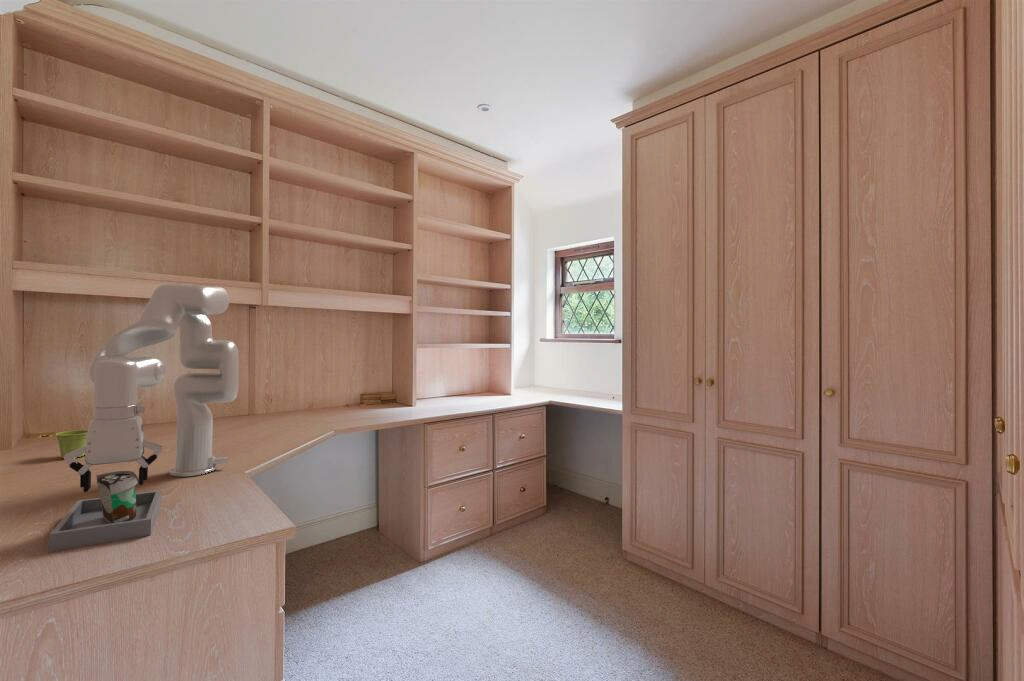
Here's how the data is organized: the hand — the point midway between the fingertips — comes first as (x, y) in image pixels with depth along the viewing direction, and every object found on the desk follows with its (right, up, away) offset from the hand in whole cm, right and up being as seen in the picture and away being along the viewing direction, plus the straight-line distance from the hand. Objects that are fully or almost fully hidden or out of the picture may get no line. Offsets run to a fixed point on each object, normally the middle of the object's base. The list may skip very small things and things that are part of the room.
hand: (115, 486), depth 106 cm
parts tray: (0, -9, -1) cm, 9 cm away
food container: (+2, -8, +1) cm, 8 cm away
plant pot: (-62, -7, +55) cm, 83 cm away
